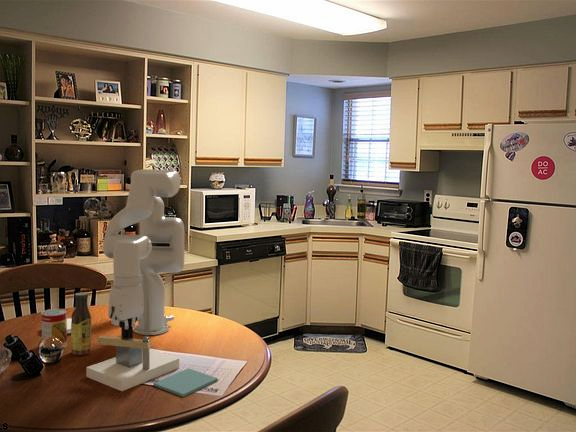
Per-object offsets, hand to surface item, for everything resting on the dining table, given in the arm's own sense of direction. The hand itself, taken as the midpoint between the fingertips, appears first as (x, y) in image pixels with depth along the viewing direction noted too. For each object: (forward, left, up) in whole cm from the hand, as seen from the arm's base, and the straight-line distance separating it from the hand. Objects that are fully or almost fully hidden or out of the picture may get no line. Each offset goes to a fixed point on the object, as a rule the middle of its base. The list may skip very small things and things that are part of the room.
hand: (127, 340), depth 170 cm
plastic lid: (-11, -50, -11) cm, 52 cm away
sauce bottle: (-1, -25, -10) cm, 27 cm away
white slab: (-1, +1, -10) cm, 10 cm away
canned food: (+1, -37, -10) cm, 38 cm away
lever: (+2, +1, -1) cm, 3 cm away
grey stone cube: (0, 0, -7) cm, 7 cm away
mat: (-5, +19, -10) cm, 23 cm away
